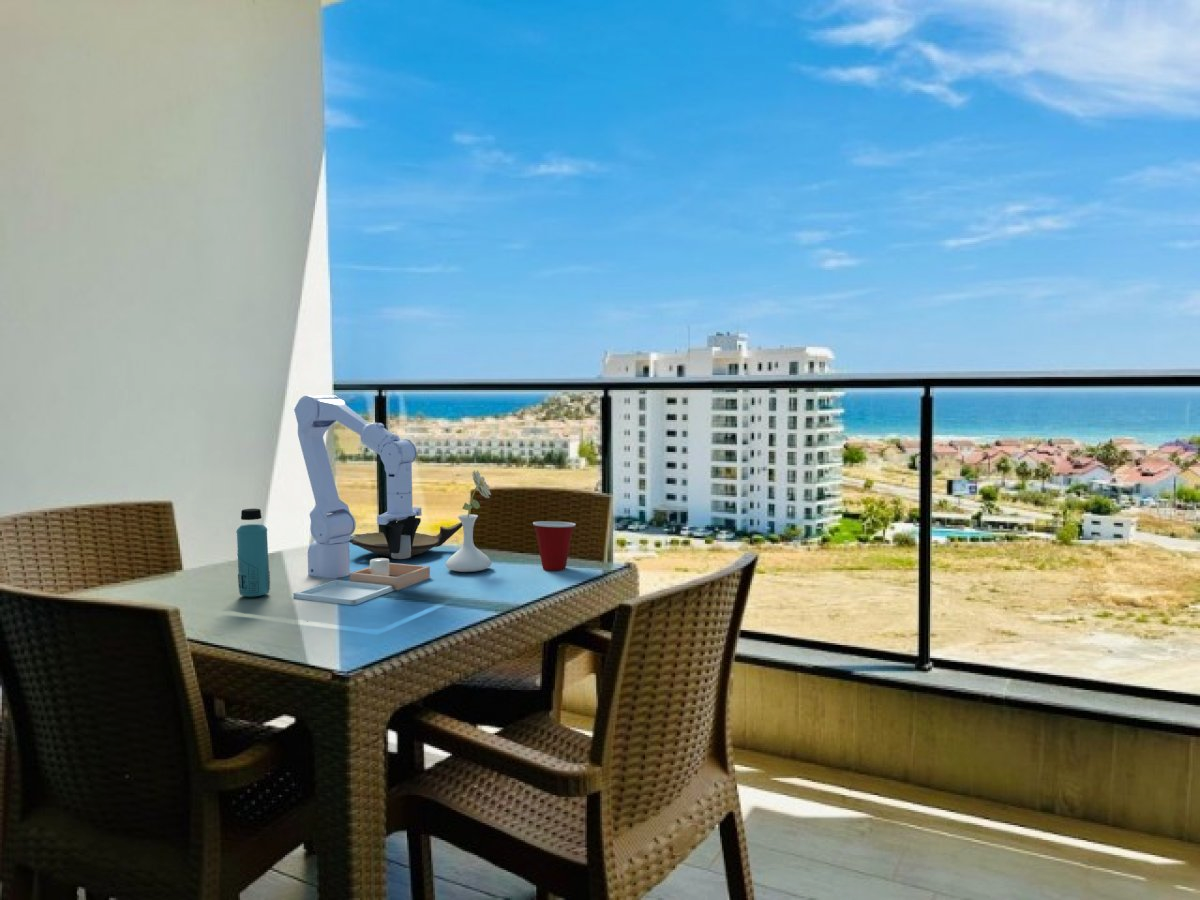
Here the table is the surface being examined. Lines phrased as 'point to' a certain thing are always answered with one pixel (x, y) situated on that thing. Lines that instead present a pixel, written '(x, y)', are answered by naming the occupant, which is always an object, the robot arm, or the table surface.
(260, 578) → the beverage bottle
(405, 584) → the terracotta dish
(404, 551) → the grey plastic cylinder
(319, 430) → the robot arm
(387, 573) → the pale grey cylinder
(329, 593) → the parts tray
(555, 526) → the plastic cup
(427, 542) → the dark brown curved bowl
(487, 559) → the flower in vase
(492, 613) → the table surface
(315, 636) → the table surface
